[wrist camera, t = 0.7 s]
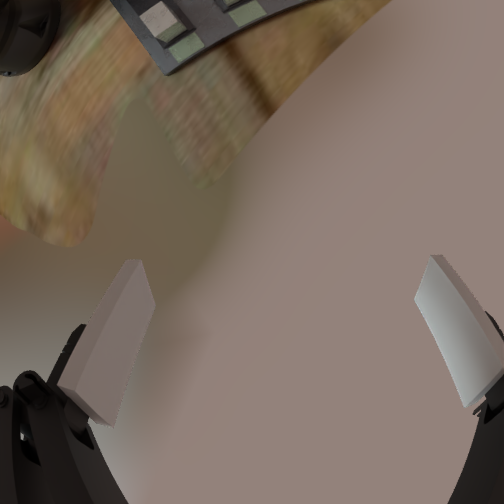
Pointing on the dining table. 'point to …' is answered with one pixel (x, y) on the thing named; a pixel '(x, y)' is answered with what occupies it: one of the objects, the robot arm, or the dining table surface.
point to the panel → (193, 24)
